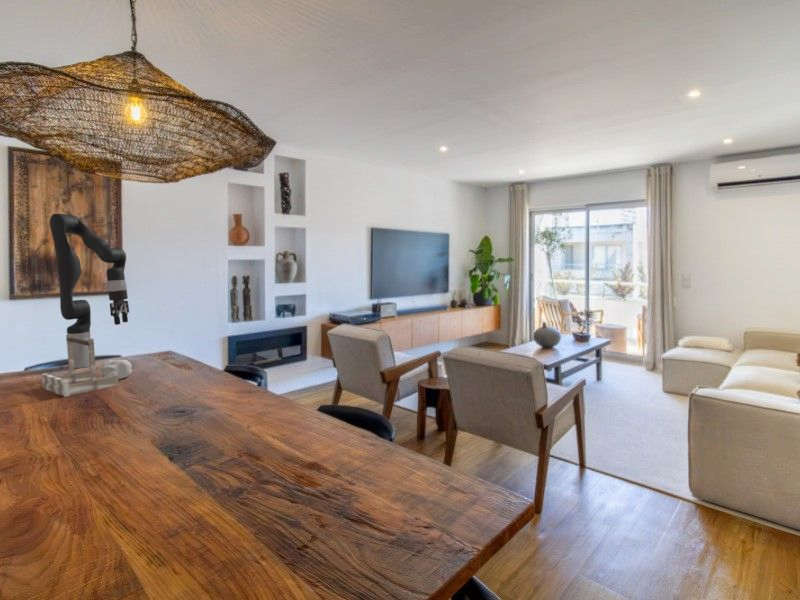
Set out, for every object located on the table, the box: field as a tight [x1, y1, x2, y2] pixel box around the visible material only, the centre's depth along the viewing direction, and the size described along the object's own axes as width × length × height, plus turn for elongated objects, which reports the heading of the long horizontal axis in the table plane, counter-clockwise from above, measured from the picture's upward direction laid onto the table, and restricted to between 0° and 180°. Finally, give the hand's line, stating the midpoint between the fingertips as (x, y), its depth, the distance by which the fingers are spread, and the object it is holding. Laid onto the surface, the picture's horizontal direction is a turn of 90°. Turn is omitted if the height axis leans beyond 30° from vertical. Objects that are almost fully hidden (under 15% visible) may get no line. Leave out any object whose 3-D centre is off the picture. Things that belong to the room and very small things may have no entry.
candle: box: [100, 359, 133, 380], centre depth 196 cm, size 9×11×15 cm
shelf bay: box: [41, 334, 120, 398], centre depth 183 cm, size 22×20×21 cm
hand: (121, 323), depth 210 cm, fingers open, 8 cm apart
